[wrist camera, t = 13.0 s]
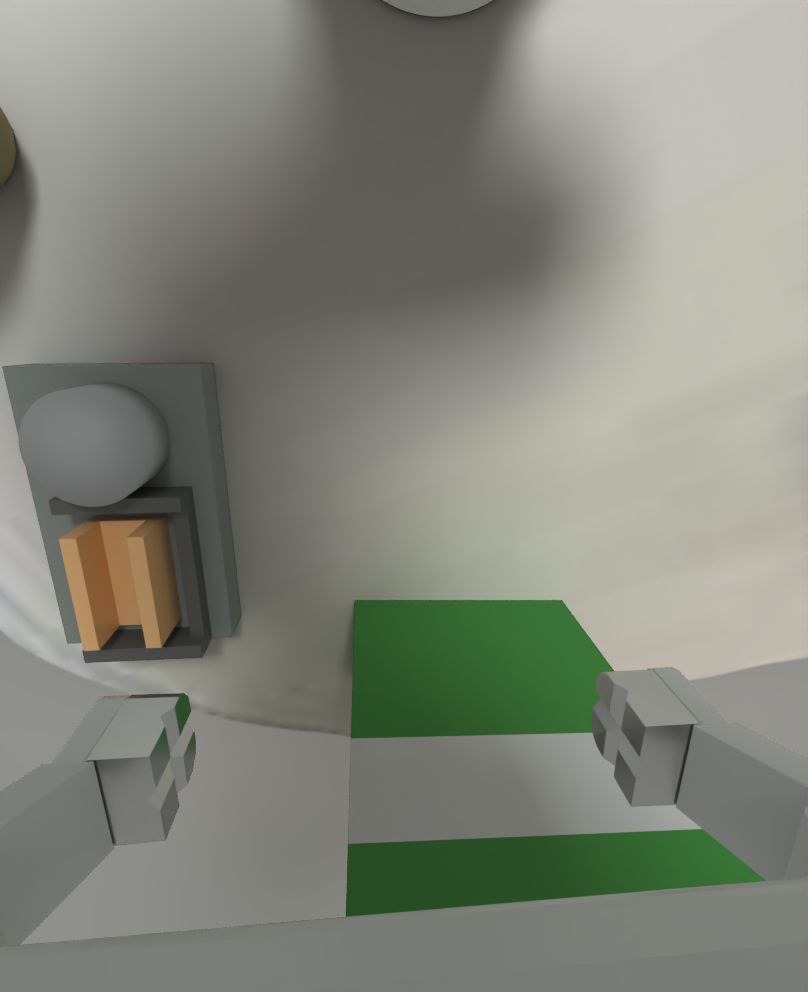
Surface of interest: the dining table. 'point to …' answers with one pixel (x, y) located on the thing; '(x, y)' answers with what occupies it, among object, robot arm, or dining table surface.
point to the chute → (122, 578)
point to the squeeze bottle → (6, 149)
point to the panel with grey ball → (133, 482)
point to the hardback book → (495, 767)
